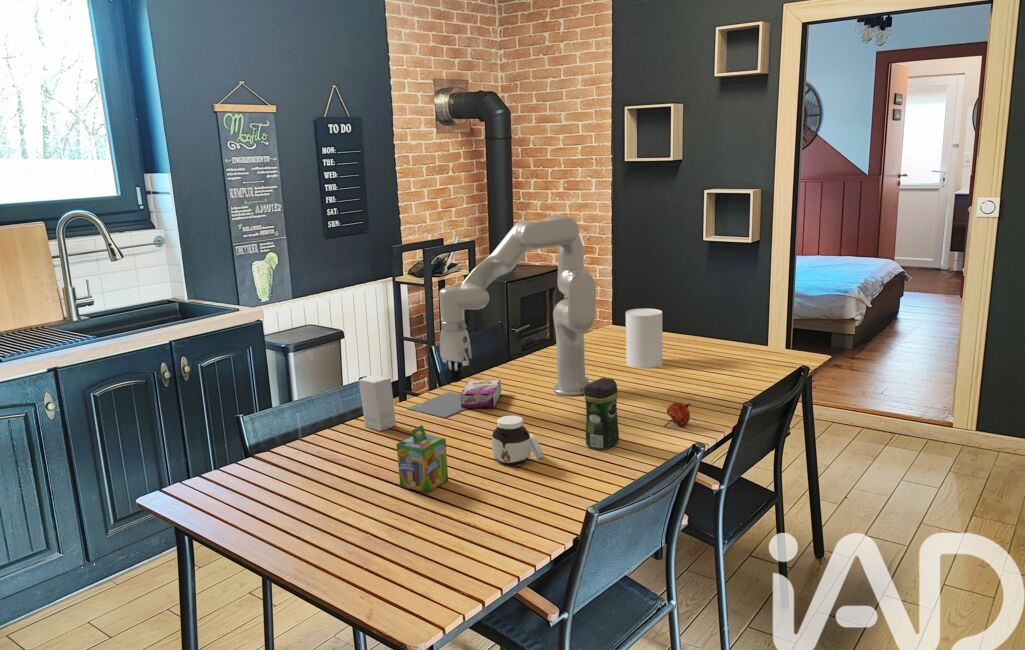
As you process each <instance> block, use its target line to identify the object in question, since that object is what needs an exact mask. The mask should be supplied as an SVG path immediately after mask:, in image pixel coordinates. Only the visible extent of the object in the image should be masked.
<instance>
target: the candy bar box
mask: <svg viewBox="0 0 1025 650" xmlns="http://www.w3.org/2000/svg"><path fill="white" fill-rule="evenodd" d="M501 381H502V379H500V378H497V379H494V378H493V379H469V380H468V382H467V383H466V385H465V387H463V389H462V391H461V393H460V398H461V408H468V409H470V408H471V409H473V408H475V409H476V408H482V409H483V408H495V406H496V404H497V402H498V400H499V398H500V396H501V393H502V382H501Z"/></svg>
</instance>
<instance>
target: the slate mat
mask: <svg viewBox="0 0 1025 650" xmlns="http://www.w3.org/2000/svg"><path fill="white" fill-rule="evenodd" d="M460 394H461V393H460ZM460 394H458V393H456V392H455V393H454V392H449V391H447V392H445V393H443V394H440V395H437V396H435V397H433V398H430V399H427V400H425V401H423V402H424V403H422V402H419V403H417V404H418V405H417V404H414V405H412V406H410V407H407V408H406V410H407V409H411V410H415V411H418V412H417V413H420V412H422V413H421V414H424V413H426V414H425V415H428V414H431V415H430V416H432V415H435V416H434V417H437V416H438V418H441V417H442V419H446V418H448V417H451V415H452V416H454V415H456V414H458V412H459V413H461V412H463V411H466V410H468V409H469V408H461V398H460ZM421 403H422V404H421ZM419 404H420V407H419ZM465 409H466V410H465ZM411 410H410V411H411ZM415 411H414V412H415ZM460 411H461V412H460Z"/></svg>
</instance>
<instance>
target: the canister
mask: <svg viewBox="0 0 1025 650" xmlns="http://www.w3.org/2000/svg"><path fill="white" fill-rule="evenodd" d="M625 347H626V349H625V351H626V352H625V353H626V354H625V357H626V365H627V366H628V365H629V366H628V367H630V366H631V367H630V368H634V367H635V368H636V369H654V368H659V367H660V366H662V365H663V311H662V310H660V309H656V308H649V307H648V308H633V309H628V310H626V311H625ZM635 368H634V369H635Z"/></svg>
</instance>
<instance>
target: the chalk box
mask: <svg viewBox="0 0 1025 650" xmlns="http://www.w3.org/2000/svg"><path fill="white" fill-rule="evenodd" d="M419 432H420V433H419ZM396 452H397V454H396V455H397V463H398V466H397V467H398V474H399V487H400V488H404V489H410V490H414V491H418V492H422V493H423V492H424V493H426V494H428V493H430V492H431V491H433V490H434V489H436V488H438V487H440V486H441V485H443V484H444V483H446V482H448V481H449V474H448V473H449V471H448V456H447V443H446V438H443V437H440V436H439V437H438V436H435V435H431V434H426V431H425V427H424V425H422V424H421V425H420V426H417V427H416V428H413V429H412V430H411V436H410V437H408V438H404V439H403V440H401V441H400V442H398V443H396Z"/></svg>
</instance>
